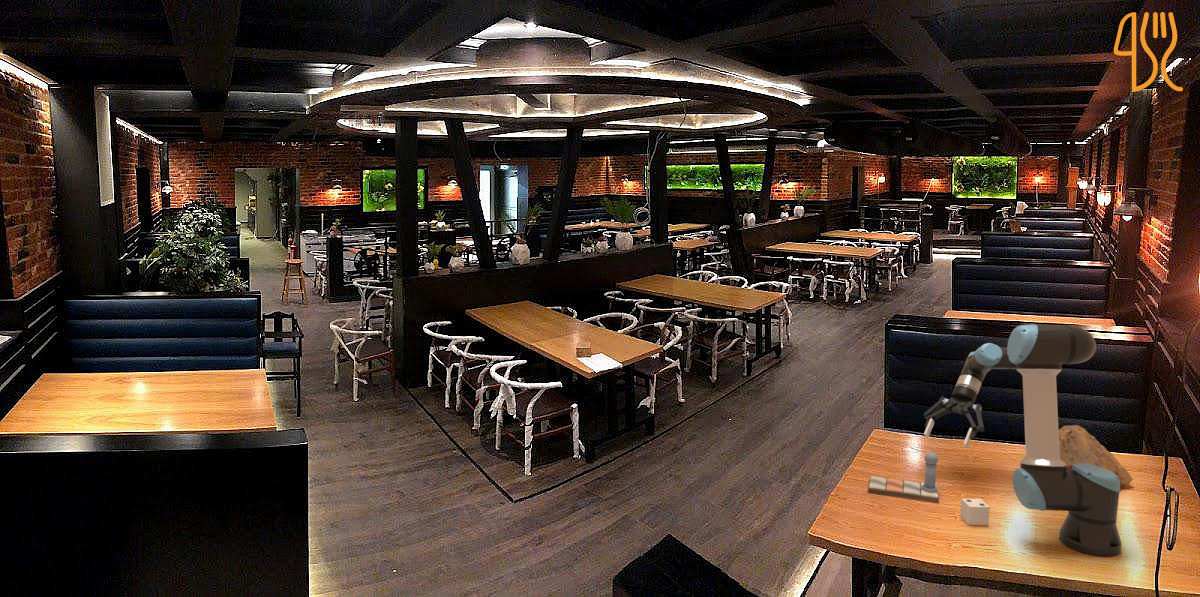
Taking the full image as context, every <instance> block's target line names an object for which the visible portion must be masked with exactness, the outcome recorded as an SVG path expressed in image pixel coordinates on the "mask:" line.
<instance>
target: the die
mask: <svg viewBox="0 0 1200 597" xmlns="http://www.w3.org/2000/svg"><path fill="white" fill-rule="evenodd" d="M960 500H961V502H960V503H961V505H960V515H959V516H960V518H961V519H962V520H963V521H964V522H965V523H966V524H967V525H968V526H989V523H990V512H991V511H990V506H989V505H988V504H987V503H986V502H985V501H984V500H983V499H982V498H961V499H960Z"/></svg>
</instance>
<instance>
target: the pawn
mask: <svg viewBox="0 0 1200 597" xmlns="http://www.w3.org/2000/svg"><path fill="white" fill-rule="evenodd" d="M924 461H925V467H924V482H923V483H924V484H923V485H922V490H923V491H925V492H929V493H935V492H937V486H935V485H936V480H937V478H936V477H937V463H938V461H939V457H938V455H937V454H936V453H934V452H926V454H925V455H924Z"/></svg>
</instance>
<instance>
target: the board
mask: <svg viewBox="0 0 1200 597" xmlns="http://www.w3.org/2000/svg"><path fill="white" fill-rule="evenodd" d="M869 478H870V479H869V482H868V483H869V484H868V492H869V493H868V494H873V493H874V494H875V495H880V496H881V495H882V496H888V497H893V498H895V497H896V498H901V499H902V498H903V499H908V500H915V501H923V502H930V503H937V504H939V502H940V501H939V499H940V498H939V486H938V484H935V486H937V492H935V493H929V492H925V491H923V490H922V485H923V484H924V482H919V481H910V480H903V479H896V478H889V477H881V476H876V475H875V476H874V475H870V477H869Z"/></svg>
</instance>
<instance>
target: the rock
mask: <svg viewBox="0 0 1200 597" xmlns="http://www.w3.org/2000/svg"><path fill="white" fill-rule="evenodd" d="M1058 429H1059V450H1060V459H1061V460H1062V461H1063V462H1064V463H1065V464H1066V468H1067V470H1072V466H1073V464H1076V463H1086V464H1091V465H1095V466H1099V467H1102V468H1105V469H1107V470H1109V471H1111V472H1113V473H1115V474H1116V475H1117V476H1118V477H1119V479H1120V486H1126V485H1130V483H1131V482H1132V481H1133V477H1132V476H1131V474H1130V473H1129V471H1128V470H1127V468H1126V467H1123V465H1122V464H1121V463H1120V462H1119V461H1118V459H1117V458H1116V457H1115V456H1114V454H1113V453H1112V452H1111V451H1109V450H1108V449H1106V447H1105V446H1104V445H1102V444H1101V443H1100V442H1099V441H1098V439H1097V438H1096V437H1095V436H1094V435H1092V434H1090V433H1089V432H1088V431H1087V429H1085V427H1082V426H1080V424H1074V425H1073V424H1072V425H1063V426H1062V427H1061V428H1058Z"/></svg>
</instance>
